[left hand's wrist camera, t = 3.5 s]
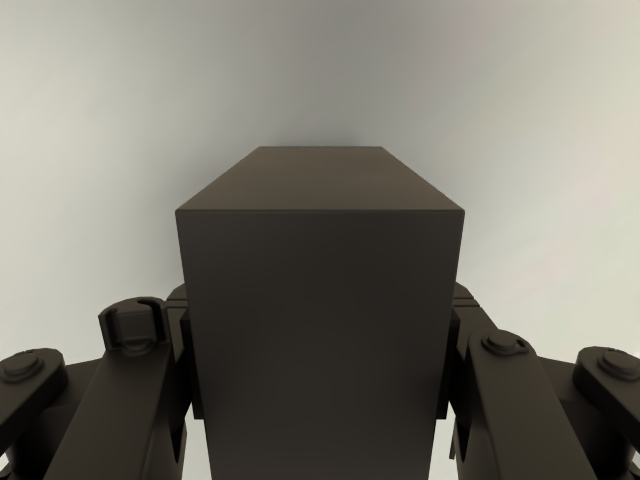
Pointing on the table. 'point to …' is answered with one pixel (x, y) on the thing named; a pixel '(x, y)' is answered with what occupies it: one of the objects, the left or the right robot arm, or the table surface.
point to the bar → (320, 313)
